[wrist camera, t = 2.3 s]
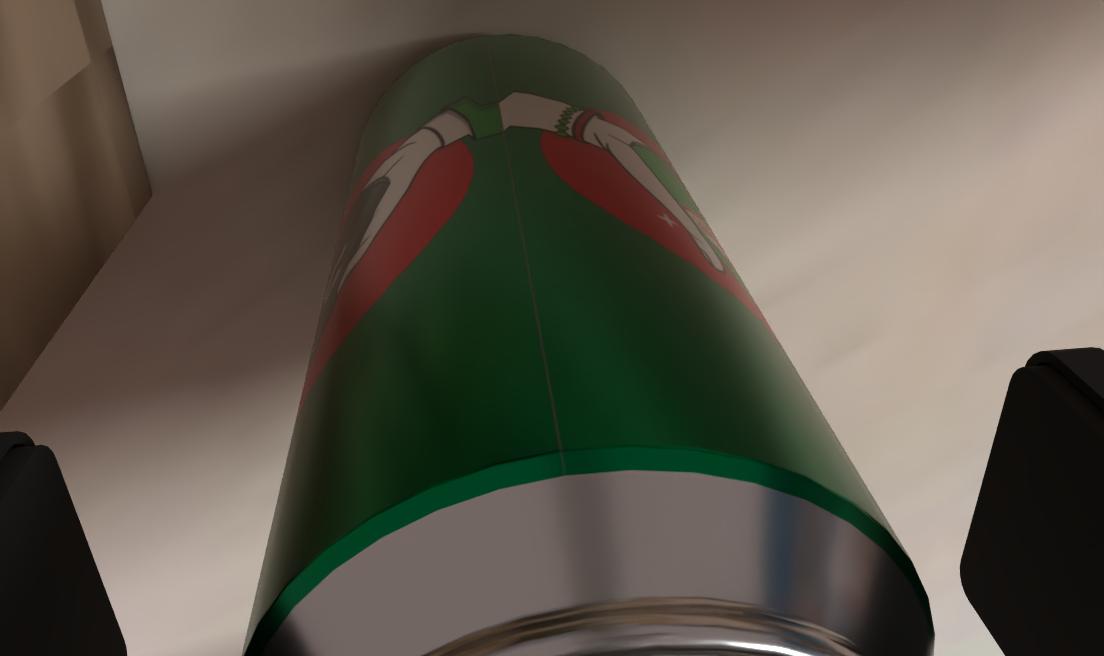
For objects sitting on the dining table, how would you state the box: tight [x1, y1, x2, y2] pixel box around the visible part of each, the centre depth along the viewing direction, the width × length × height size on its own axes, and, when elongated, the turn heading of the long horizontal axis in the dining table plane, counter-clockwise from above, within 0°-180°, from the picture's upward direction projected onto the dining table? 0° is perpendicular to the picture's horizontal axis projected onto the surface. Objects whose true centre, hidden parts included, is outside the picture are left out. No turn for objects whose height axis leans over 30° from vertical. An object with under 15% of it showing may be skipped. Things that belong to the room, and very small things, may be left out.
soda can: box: [242, 34, 935, 656], centre depth 11 cm, size 5×5×12 cm
